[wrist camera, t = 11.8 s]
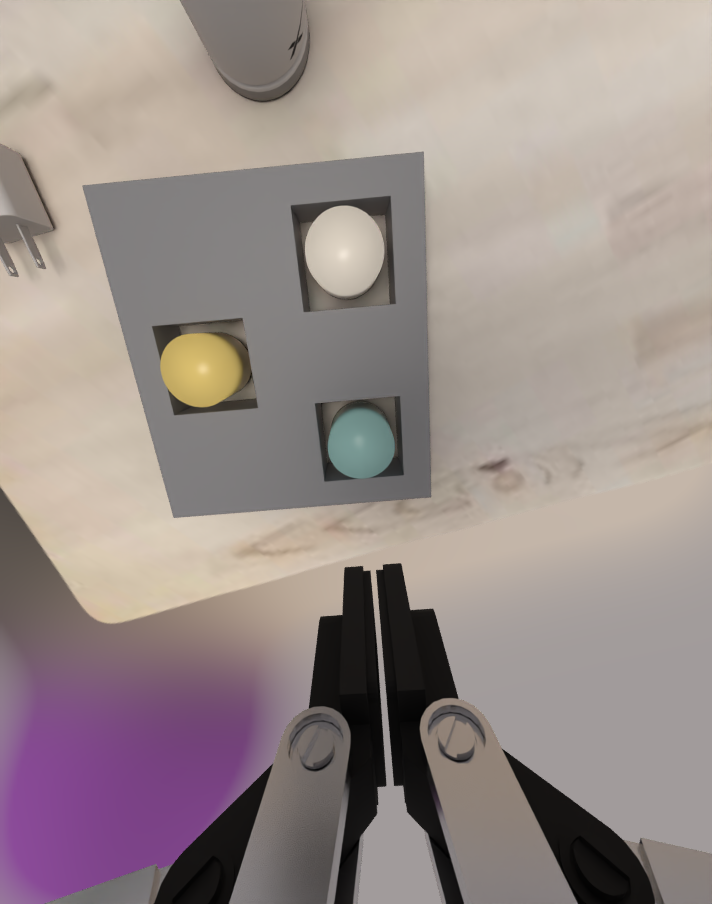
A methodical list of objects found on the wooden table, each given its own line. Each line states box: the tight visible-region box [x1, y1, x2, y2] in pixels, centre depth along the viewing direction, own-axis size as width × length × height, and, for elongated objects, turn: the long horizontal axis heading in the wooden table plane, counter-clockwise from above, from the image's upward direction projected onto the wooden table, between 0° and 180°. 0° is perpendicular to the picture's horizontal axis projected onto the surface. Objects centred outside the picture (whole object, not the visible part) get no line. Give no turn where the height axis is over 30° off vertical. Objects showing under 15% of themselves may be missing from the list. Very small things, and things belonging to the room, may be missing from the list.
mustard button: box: [160, 332, 251, 407], centre depth 26 cm, size 5×5×4 cm
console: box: [83, 152, 431, 518], centre depth 27 cm, size 20×22×4 cm
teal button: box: [328, 402, 395, 479], centre depth 27 cm, size 5×5×4 cm
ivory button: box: [305, 206, 384, 299], centre depth 24 cm, size 5×5×4 cm
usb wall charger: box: [0, 144, 53, 277], centre depth 24 cm, size 4×7×4 cm, turn 14°
